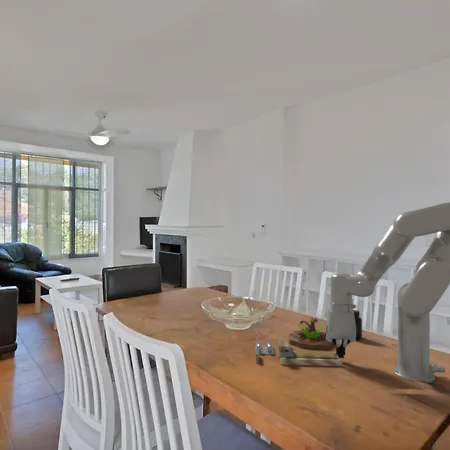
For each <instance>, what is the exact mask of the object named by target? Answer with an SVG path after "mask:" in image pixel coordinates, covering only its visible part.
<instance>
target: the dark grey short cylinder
mask: <svg viewBox="0 0 450 450" xmlns="http://www.w3.org/2000/svg"><path fill="white" fill-rule="evenodd" d="M294 351H295V350H294V349H293V348H292V347H291V346H289V350H282V355H283V357H282V358H295V354H294Z"/></svg>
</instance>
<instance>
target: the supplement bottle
mask: <svg viewBox="0 0 450 450" xmlns="http://www.w3.org/2000/svg"><path fill="white" fill-rule="evenodd" d="M352 311H353V312H354V316H355V324H356V337H355V338H356V341H359V340H362V339H363V320H362V319H363V318H362V317H361V316H360V311H359V310H357V309H352Z"/></svg>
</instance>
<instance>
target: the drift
mask: <svg viewBox="0 0 450 450" xmlns="http://www.w3.org/2000/svg"><path fill="white" fill-rule="evenodd" d="M294 351H295V358H306V359H334V351H329V350H311V349H298V348H297V349H294Z"/></svg>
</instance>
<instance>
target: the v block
mask: <svg viewBox="0 0 450 450" xmlns="http://www.w3.org/2000/svg"><path fill="white" fill-rule="evenodd" d="M255 343H256V345H254V347H255V348H254V350H255V352H254V353H255V355H256V349H259V355H275V350H274V346H273V345H272V342H271V341H267V342H266V345H262V342H261V341H256V342H255Z"/></svg>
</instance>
